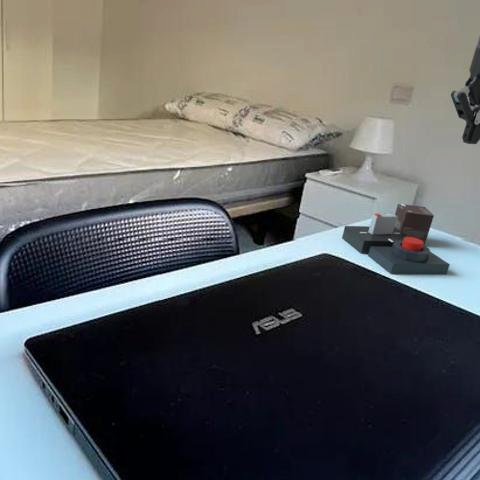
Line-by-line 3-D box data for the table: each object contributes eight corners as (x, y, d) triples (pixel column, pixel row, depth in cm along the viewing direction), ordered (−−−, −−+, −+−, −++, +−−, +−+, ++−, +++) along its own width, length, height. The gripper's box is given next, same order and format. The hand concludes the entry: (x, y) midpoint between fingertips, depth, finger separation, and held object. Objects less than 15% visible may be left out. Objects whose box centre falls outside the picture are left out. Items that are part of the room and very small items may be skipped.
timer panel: (389, 238, 112) (393, 225, 111) (414, 255, 104) (419, 241, 102) (340, 237, 110) (343, 224, 109) (362, 255, 102) (366, 241, 100)
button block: (420, 256, 104) (426, 239, 102) (446, 274, 96) (452, 255, 95) (367, 256, 101) (372, 238, 100) (390, 274, 94) (396, 255, 93)
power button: (413, 244, 99) (416, 236, 99) (425, 252, 96) (428, 244, 95) (397, 244, 99) (400, 236, 98) (408, 252, 95) (411, 244, 95)
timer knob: (388, 231, 107) (393, 213, 105) (392, 234, 106) (397, 215, 104) (368, 232, 106) (373, 213, 104) (372, 234, 104) (377, 215, 103)
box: (424, 247, 109) (435, 215, 106) (396, 243, 109) (405, 211, 107) (416, 236, 114) (425, 206, 111) (388, 233, 115) (397, 203, 112)
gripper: (483, 46, 85) (452, 146, 92) (549, 51, 87) (514, 149, 94) (453, 43, 92) (426, 137, 99) (515, 48, 94) (485, 139, 101)
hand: (469, 143), depth 96 cm, fingers closed
